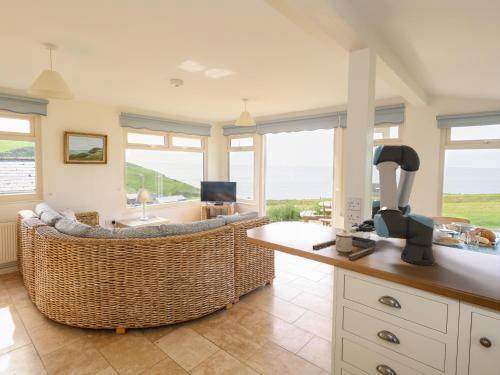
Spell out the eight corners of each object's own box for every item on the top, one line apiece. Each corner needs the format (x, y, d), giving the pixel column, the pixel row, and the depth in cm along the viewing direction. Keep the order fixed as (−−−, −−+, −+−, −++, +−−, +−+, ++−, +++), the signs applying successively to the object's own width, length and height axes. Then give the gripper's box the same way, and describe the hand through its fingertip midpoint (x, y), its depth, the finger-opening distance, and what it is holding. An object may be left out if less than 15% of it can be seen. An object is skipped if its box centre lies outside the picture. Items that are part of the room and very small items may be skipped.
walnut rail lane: (374, 251, 158) (374, 247, 158) (351, 260, 141) (351, 256, 141) (336, 241, 176) (336, 238, 175) (312, 249, 159) (312, 245, 159)
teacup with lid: (340, 246, 165) (341, 227, 164) (355, 250, 158) (356, 230, 157) (328, 250, 158) (329, 229, 157) (343, 254, 151) (344, 232, 150)
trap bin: (375, 245, 170) (375, 240, 169) (366, 248, 162) (367, 243, 162) (353, 240, 180) (354, 235, 180) (344, 243, 173) (344, 238, 172)
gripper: (381, 233, 174) (362, 239, 158) (359, 229, 184) (340, 234, 168) (381, 221, 173) (363, 226, 157) (360, 217, 183) (340, 222, 168)
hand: (351, 230), depth 163 cm, fingers closed
